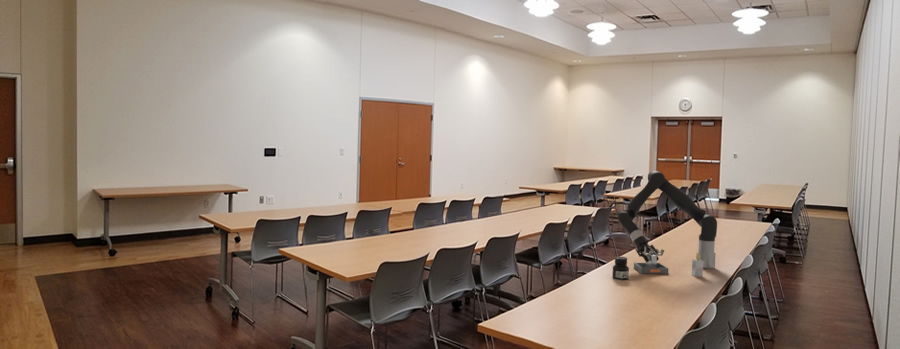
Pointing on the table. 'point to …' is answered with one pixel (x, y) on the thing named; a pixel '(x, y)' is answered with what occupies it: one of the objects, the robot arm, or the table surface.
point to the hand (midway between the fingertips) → (652, 260)
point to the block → (651, 261)
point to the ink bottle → (620, 268)
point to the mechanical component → (659, 252)
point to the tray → (651, 269)
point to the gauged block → (697, 266)
